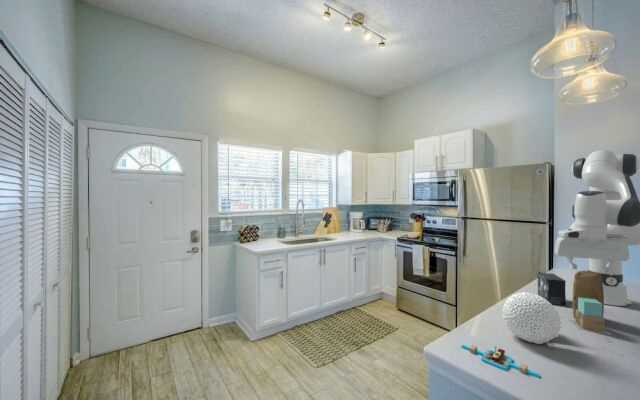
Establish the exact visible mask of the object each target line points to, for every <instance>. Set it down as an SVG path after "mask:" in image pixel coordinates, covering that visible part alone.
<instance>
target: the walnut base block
mask: <svg viewBox="0 0 640 400" xmlns="http://www.w3.org/2000/svg"><path fill="white" fill-rule="evenodd" d="M605 319H606V318H605V317H604V316H603V317H602V318H601V317H594V316H587V315H583V314H582V313H581V312H580V311H578V310H576V318H575V321H576V323H577V324H578V325H579V326H580V327H581V328H583V329H588V330H594V331H600V332H605V329H606V327H605V324H606V323H605V321H606V320H605Z"/></svg>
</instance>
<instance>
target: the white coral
mask: <svg viewBox="0 0 640 400" xmlns="http://www.w3.org/2000/svg"><path fill="white" fill-rule="evenodd" d="M502 319H503V322H504V325H505V326H506V327H507V330H509V331H510V332H511V333H513V335H515V336H517V337H518V338H519V339H521V340H523V341H526V342H529V343H534V344H537V345H540V344H541V345H542V344H544V343H549V342H550V341H551V340H552V341H553V339H556V338H558V337H559V336H560V332H561V328H562V325H561V324H562V320H561V317H560V314H559V312H558V310H557V308H556V307H555V306H554V305H553V304H551V303H550V302H548V301H547V300H546V299H545V298H543V297H541V296H539V295H538V294H536V293H532V292H525V291H523V292H518V293H514V294H512V295H511V296H509V297H508V298H507V299H506V300H505V302H504V305H503V308H502Z"/></svg>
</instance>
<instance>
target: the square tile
mask: <svg viewBox="0 0 640 400" xmlns="http://www.w3.org/2000/svg"><path fill="white" fill-rule="evenodd" d="M569 322H570V323H572V324H573V325H574V326H575V327H576V328H577V329H578V330H579V331H586V332H591V333H597V334H603V335H609V336H613V334H612V333H611V332H610V331H608V330H607V329H606V328H605V332H600V331H594V330H588V329H583V328H581V327H580V326H579V325H578V324H577V323H576V320H573V319H569Z"/></svg>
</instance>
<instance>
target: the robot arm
mask: <svg viewBox="0 0 640 400" xmlns="http://www.w3.org/2000/svg"><path fill="white" fill-rule="evenodd" d="M639 169H640V160H639V158H638V157H637V155H635V154H633V153H623V154H620V153H619V154H615V153H614V152H613V151H610V150H608V149H607V150H606V149H599V150H595V151H593V152H591V153H590V154H588V156H587V157H581V158H578V159H575V161H574V162H573V163H572V165H571V172H572V174H573V177H575V178H576V179H580V180H582V181H583V183H584V184H585V185H587V186H589V190H583V191H579V192H577V193H576V196H575V200H574V204H573V205H572V208H571V209H572V214H571V215H572V218H574V219H575V220H574V222H573V223H572V224H571V225H570V226H569V228H567V229H562V230H558V232H557V235H558V237H556V239H555V244H554V254H555V255H557V256H558V257H564V258H565V257H566V258H565V259H566V260H567V262H568V263H569V265H570V266H569V268H570V269H571V270H577V269H578V265H577V264H576V263H574V261H573V260H574V258H579V259H580V258H581V259H588V269H587V271H591V272H596V273H600V274H601V276H602V283H603V291H604V305H610V306H618V307H621V306H622V307H624V306H627V305H633V304H632V301H630V300H629V297H628V289H627V286H626V285H625V284H624V283H623V282H624V275H623V273H622V267H623V266H622V265H623V264H622V263H623V262H627V261H629V259H630V250H629V246H639V245H640V199H639V197H638V194H637V192H636V191H637V190H636V188H635V186H634V183H633V181H632V179H631V177H633V176H634V175H636V174H637V172H638V170H639Z"/></svg>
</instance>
